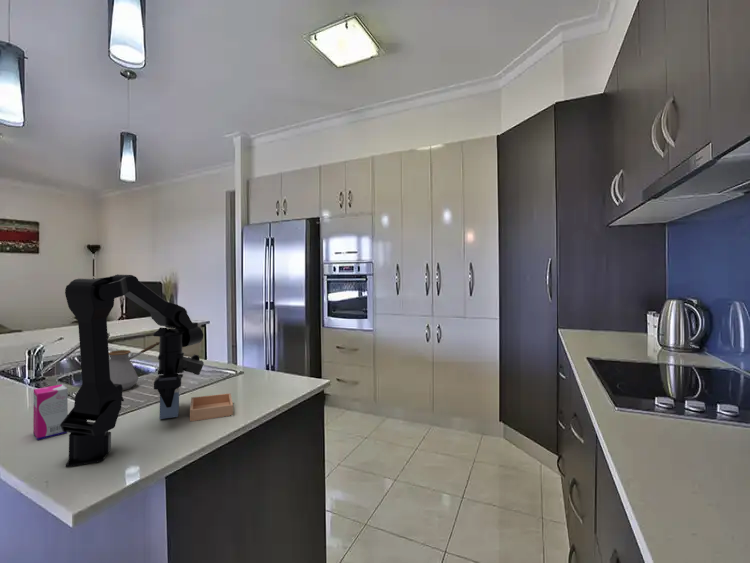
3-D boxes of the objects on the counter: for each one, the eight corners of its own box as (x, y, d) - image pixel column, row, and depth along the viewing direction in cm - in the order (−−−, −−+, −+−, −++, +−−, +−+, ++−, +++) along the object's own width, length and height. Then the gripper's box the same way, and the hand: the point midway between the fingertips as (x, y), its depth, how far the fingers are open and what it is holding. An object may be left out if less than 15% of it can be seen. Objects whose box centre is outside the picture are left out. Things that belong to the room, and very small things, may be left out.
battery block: (159, 419, 98) (160, 390, 98) (161, 413, 102) (161, 385, 102) (177, 416, 100) (178, 388, 100) (178, 411, 104) (179, 384, 104)
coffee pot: (107, 396, 116) (108, 350, 116) (91, 389, 122) (92, 346, 122) (172, 380, 135) (173, 341, 134) (156, 375, 141) (157, 338, 140)
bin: (189, 421, 99) (190, 410, 99) (191, 407, 109) (191, 397, 109) (232, 415, 104) (233, 405, 103) (230, 402, 114) (230, 393, 114)
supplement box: (62, 426, 93) (63, 383, 93) (67, 433, 89) (68, 388, 89) (32, 433, 89) (33, 388, 89) (36, 441, 85) (37, 393, 85)
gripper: (202, 355, 96) (200, 412, 96) (202, 342, 113) (201, 391, 113) (154, 358, 91) (152, 418, 92) (161, 344, 108) (160, 395, 108)
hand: (169, 404), depth 101 cm, fingers closed on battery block, 4 cm apart
